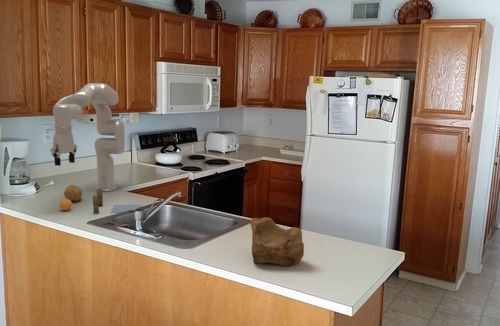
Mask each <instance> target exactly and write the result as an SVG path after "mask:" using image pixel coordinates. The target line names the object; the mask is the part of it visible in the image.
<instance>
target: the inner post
mask: <svg viewBox="0 0 500 326" xmlns="http://www.w3.org/2000/svg"><path fill="white" fill-rule="evenodd" d="M96 195H98V202H99V208H100V207H103V206H104V201H103V200H104V199H103V198H104V197H103V191H102V189H97V190H96Z"/></svg>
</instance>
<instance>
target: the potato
mask: <svg viewBox="0 0 500 326" xmlns="http://www.w3.org/2000/svg"><path fill="white" fill-rule="evenodd" d="M63 196H64V199H69V200H70V201H71V202H77V201H79V200H81V197H82V196H83V190H82V189H81V188H80V187H79V186H77V185H74V184H70V185H68V186H66V188H65V190H64V192H63Z"/></svg>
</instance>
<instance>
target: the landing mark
mask: <svg viewBox="0 0 500 326" xmlns="http://www.w3.org/2000/svg"><path fill="white" fill-rule="evenodd" d="M139 207H140V208H141V203H137V204H135V203H134V204H114V205H113V206H112V208H111V210H110V214H115V213H117V214H118V213H121V212H124V211H127V210H135V209H137V208H139ZM124 213H125V212H124ZM121 214H122V213H121Z"/></svg>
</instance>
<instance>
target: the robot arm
mask: <svg viewBox="0 0 500 326" xmlns="http://www.w3.org/2000/svg"><path fill="white" fill-rule="evenodd" d="M118 102H119V94H118V93H117V91H116V90H115V89H114V88H112V87H111V86H110V85H108V84H106V83H95V82H94V83H93V82H91V83H86V84H85V85H84V86H83V87H82V88H81V89H79V91H77V92H76V93H73V94H71V95H68V96H65V97H62V98H61V99H59V100H58V101H57V102H56V103H55V104H54V106H53V107H52V114H53V116H54V130H55V131H54V133H53V139H52V140H53V141H52V147H51V148H50V153H51V155H52V157H53V158H54V166H59V167H61V164H62V162H61V155H62V154H67V153H68V163H70V164H71V163H75V162H76V161H75V156H76V153H77V149H78V145H77V144H75V143H74V142H75V141H74V136H73V132H72V131H73V130H72V129H73V128H72V120H78V119H80V118H81V117H82V116H83V114H84V111H83V108H86V107H88V106H89V105H92V106H93V107H94V110H95V112H96V131H97V134H99V135H100V136H111V137H98V138H96V139H95V141H94V149H95V154H96V164H97V167H96V169H97V171H96V172H97V186H96V187H95V191H97V189H102V192H113V191H116V190H118V186H117V185H115V169H114V168H115V166H114V165H115V164H114V159H113V157H112V155H121V154H124V152H125V150H126V149H125V148H126V143H125V142H126V141H125V139H126V135H125V133H126V132H125V131H126V130H125V123H124V122H123V121H122V120H120V119H113V117H112V116H113V115H112V110H111V108H110V107H109V106H115V105H117V104H118ZM112 136H114V137H112Z"/></svg>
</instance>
